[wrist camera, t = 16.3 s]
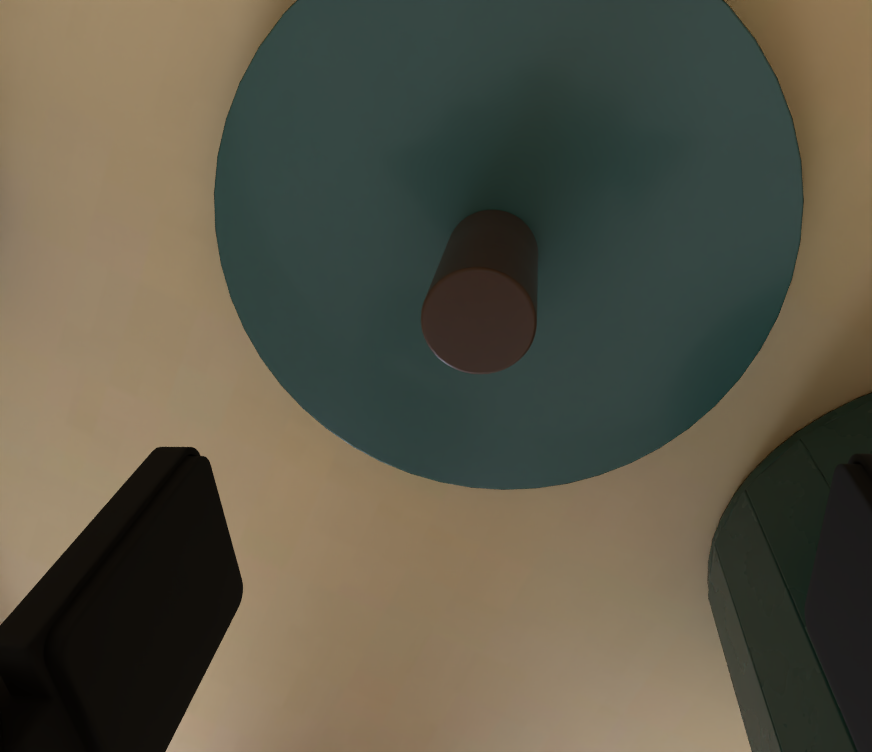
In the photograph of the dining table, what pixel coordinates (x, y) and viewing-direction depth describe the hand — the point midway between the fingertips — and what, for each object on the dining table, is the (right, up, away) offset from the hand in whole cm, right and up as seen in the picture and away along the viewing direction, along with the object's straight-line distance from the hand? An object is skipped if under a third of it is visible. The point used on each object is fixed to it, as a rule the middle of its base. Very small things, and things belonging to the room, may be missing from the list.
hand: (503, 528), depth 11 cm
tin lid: (+1, +6, +11) cm, 13 cm away
